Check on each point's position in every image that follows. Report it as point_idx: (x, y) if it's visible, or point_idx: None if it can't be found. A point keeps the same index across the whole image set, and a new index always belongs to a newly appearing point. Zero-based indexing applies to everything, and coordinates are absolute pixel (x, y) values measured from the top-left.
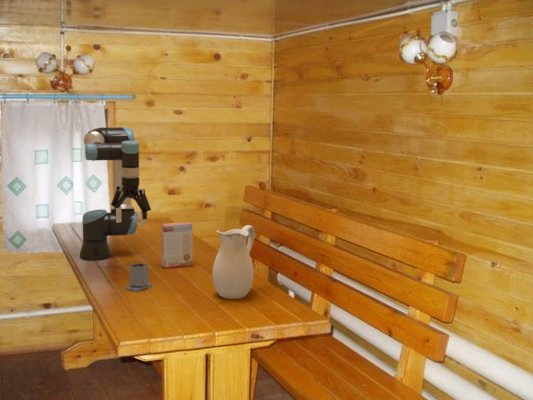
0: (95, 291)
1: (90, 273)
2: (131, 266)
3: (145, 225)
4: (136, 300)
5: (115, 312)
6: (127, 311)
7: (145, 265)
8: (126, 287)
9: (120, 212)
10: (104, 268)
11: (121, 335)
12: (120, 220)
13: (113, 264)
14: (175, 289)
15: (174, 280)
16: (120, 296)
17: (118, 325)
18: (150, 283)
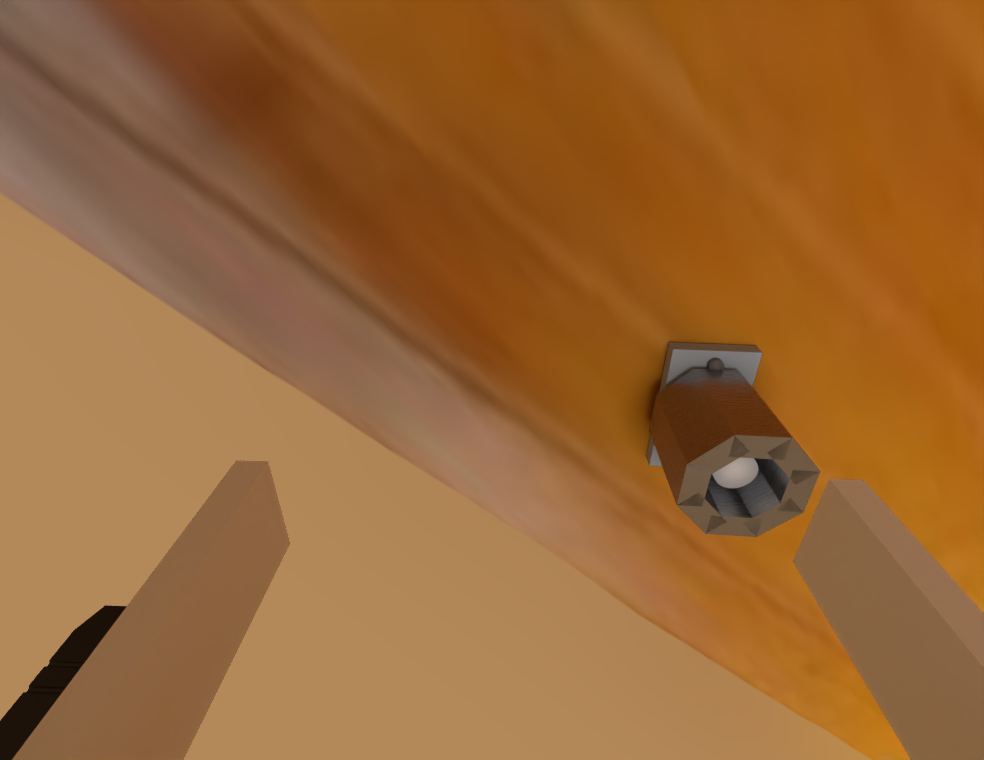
0: (530, 526)
1: (263, 319)
2: (708, 524)
3: (864, 493)
4: (779, 543)
5: (761, 653)
6: (802, 635)
7: (796, 472)
8: (655, 464)
9: (164, 657)
10: (225, 176)
11: (875, 753)
12: (262, 505)
13: (171, 31)
14: (931, 335)
15: (863, 165)
16: (680, 532)
17: (830, 715)
18: (756, 361)
